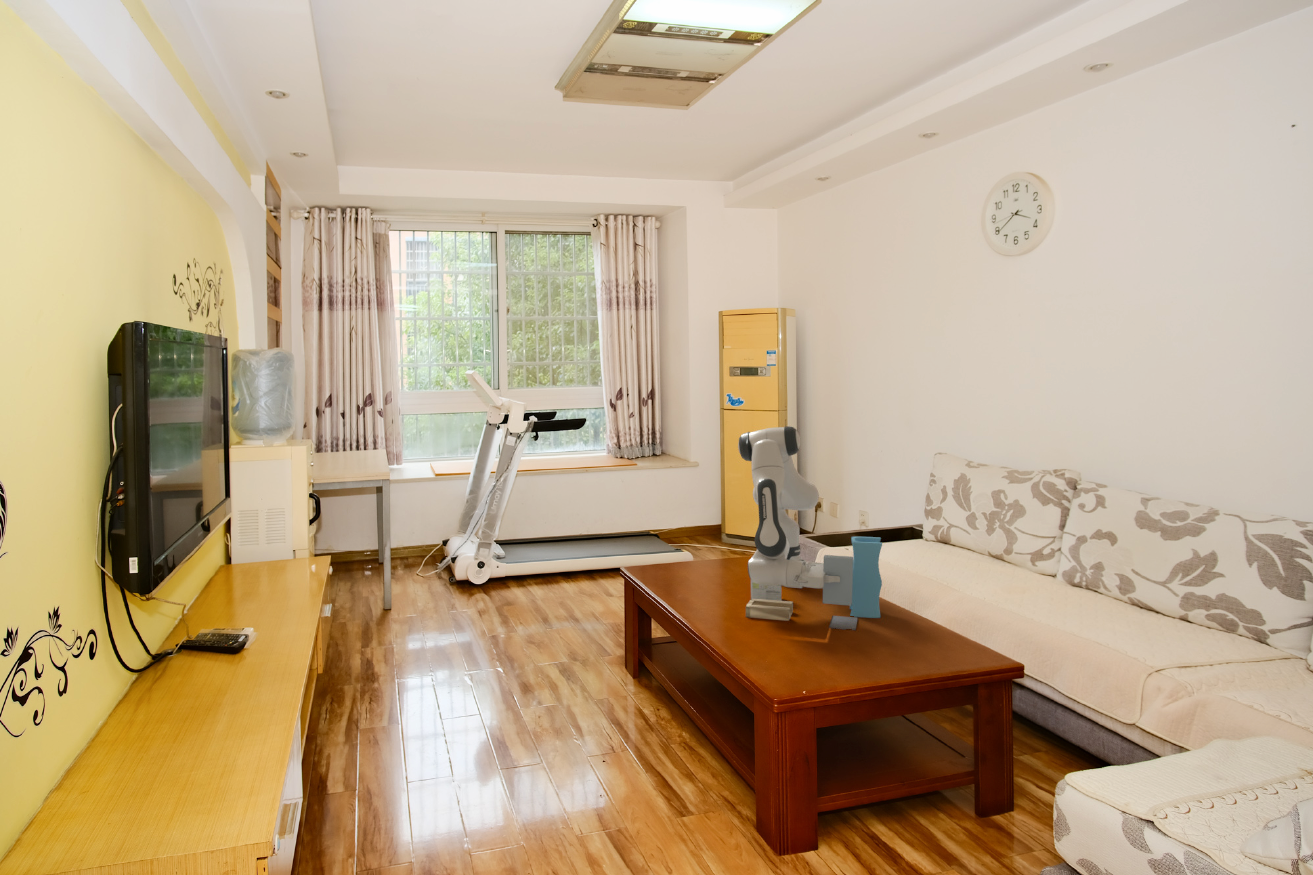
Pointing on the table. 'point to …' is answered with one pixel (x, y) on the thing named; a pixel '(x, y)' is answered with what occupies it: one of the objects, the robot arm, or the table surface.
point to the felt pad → (843, 622)
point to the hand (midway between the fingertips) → (840, 577)
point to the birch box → (769, 609)
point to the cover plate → (843, 589)
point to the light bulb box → (765, 592)
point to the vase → (866, 577)
